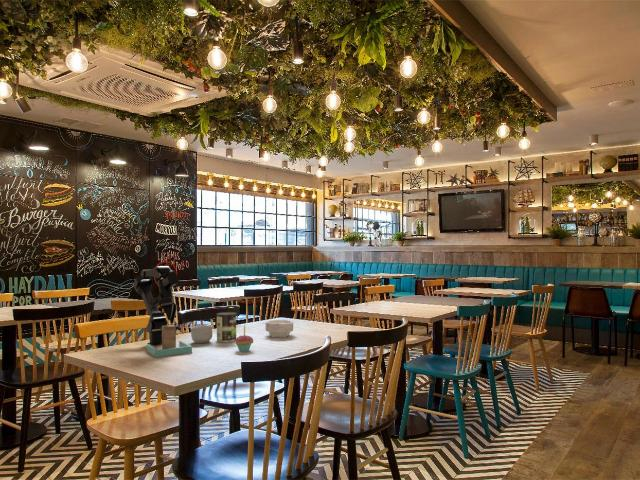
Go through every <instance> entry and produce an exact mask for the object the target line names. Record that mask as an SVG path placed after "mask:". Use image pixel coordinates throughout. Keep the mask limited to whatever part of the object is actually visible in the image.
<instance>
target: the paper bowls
mask: <svg viewBox="0 0 640 480" xmlns="http://www.w3.org/2000/svg"><path fill="white" fill-rule="evenodd" d="M265 331H266V332H268V334H269V336H270V337H272V338H287V337H289V336H290V333H291V332H293V331H294V322H293V320H288V319H287V320H286V319H271V320H266V321H265Z"/></svg>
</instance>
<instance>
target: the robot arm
mask: <svg viewBox="0 0 640 480" xmlns="http://www.w3.org/2000/svg"><path fill="white" fill-rule="evenodd" d="M144 278H149V279H144ZM153 278H156V279H158V281H157V283H156V285H158V289H159V293H158V296H157V297H154V296H153V295H152V292H151V291H152V288H153V283H154V281H153ZM179 282H180V277H179V275H178V274H176V273H175V271H174V270H173V269H171V268H170V266H169V265H164V266H163V265H160V266H159V265H157V266H155V267H153V269H150V268H149V269H141V271H140V274H138V275H137V276H136V277H135V278H134V282H133V289H134V290H135V292H136V293H137V294H138V295H140V296H141V297H142V300H143V304H145V307H146V310H147V313H148V316H149V319H148V322H147V325H146V327H145V328H146V329H145V330H146V333H148V334H149V342H148V343H146V344H147V345H148V344H150V345H151V346H159V345H162V326H166V325H169V324H168V323H169V322H168V321H170V324H173V323H174V321H175V317H176V315H177V311H178V305H177V304H176V303H175V300H174V293H173V290H172V288H173V287H174V286H176V285H177V284H178V283H179ZM158 307H160V308H161V309H162V310H163V311H160V310H159V308H158Z"/></svg>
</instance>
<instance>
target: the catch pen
mask: <svg viewBox="0 0 640 480" xmlns="http://www.w3.org/2000/svg"><path fill="white" fill-rule="evenodd" d="M146 352H148V353H149V354H150V355H152V356H153V357H154V358H163V357H169V356H177V355H185V354H192V353H193V346H192V345H190V344H188V343H187V342H185V341H183V340H179V341H178V347H177V346H176V348H169V349H162V348H161V349H157V348H155V347H154V345H151V344H147V345H146Z"/></svg>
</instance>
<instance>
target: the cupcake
mask: <svg viewBox="0 0 640 480" xmlns="http://www.w3.org/2000/svg"><path fill="white" fill-rule="evenodd" d="M253 343H254V338H253V337H252V336H250V335H246V324H244V325H243V335H239V336H238V337H236V339H235V341H234V344H236V346H237V349H238V351H239V352H241V353H242V352H243V353H245V352H249V351H250V350H251V349H250V348H251V346H252V344H253Z"/></svg>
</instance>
